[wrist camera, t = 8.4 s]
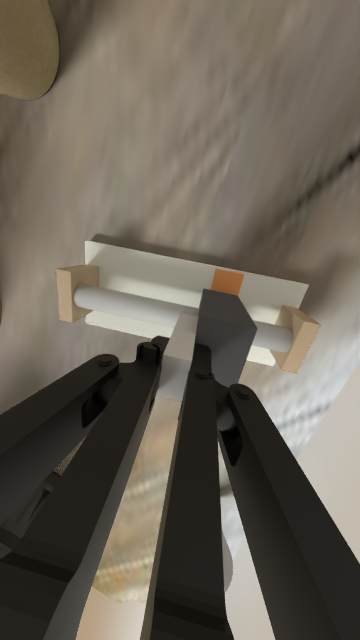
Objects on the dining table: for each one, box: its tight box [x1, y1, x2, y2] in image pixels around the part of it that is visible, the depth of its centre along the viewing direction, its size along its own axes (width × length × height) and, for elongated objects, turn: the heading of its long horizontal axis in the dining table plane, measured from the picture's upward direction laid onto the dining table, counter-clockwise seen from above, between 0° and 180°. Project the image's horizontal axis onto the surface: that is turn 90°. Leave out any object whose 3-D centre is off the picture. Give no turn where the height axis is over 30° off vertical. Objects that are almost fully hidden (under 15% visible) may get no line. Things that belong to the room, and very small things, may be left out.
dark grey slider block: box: [195, 288, 258, 388], centre depth 17 cm, size 4×5×9 cm, turn 170°
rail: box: [56, 240, 321, 374], centre depth 20 cm, size 24×10×6 cm, turn 80°
